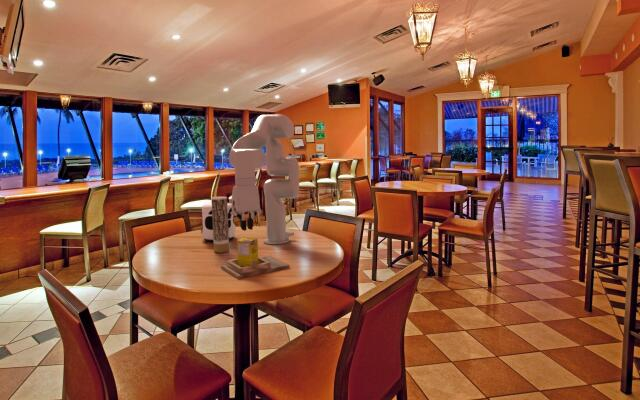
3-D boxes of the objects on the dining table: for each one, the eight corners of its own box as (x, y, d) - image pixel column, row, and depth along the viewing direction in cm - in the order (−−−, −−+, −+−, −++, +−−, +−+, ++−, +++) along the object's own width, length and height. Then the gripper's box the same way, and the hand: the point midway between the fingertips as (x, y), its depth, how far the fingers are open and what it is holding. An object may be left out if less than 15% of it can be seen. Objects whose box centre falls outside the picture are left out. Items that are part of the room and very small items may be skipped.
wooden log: (225, 253, 178) (222, 198, 175) (211, 252, 180) (208, 198, 176) (231, 249, 185) (229, 196, 182) (218, 248, 186) (215, 196, 183)
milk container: (215, 234, 217) (213, 201, 214) (242, 236, 210) (241, 203, 208) (194, 241, 201) (192, 206, 198) (223, 244, 194) (221, 208, 192)
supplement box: (258, 264, 158) (257, 237, 156) (251, 269, 152) (250, 241, 150) (245, 263, 159) (244, 236, 158) (237, 267, 154) (236, 240, 152)
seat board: (269, 258, 170) (269, 251, 170) (289, 267, 157) (289, 259, 157) (221, 268, 157) (220, 260, 157) (238, 279, 145) (237, 270, 144)
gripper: (259, 180, 158) (260, 225, 161) (221, 182, 149) (223, 230, 152) (268, 181, 152) (269, 228, 155) (229, 184, 143) (231, 234, 146)
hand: (247, 229), depth 153 cm, fingers closed
